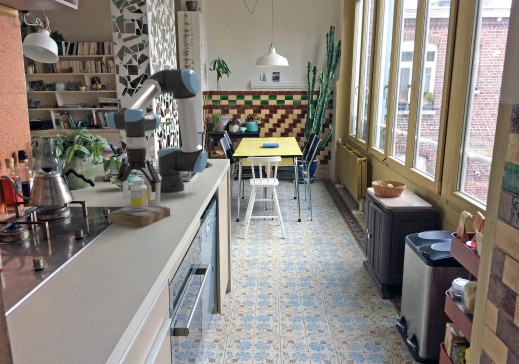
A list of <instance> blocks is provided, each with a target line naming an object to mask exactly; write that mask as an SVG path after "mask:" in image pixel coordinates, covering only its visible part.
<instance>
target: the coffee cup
mask: <svg viewBox="0 0 519 364" xmlns="http://www.w3.org/2000/svg"><path fill="white" fill-rule="evenodd" d="M157 175H158V177H159V180H160V182H159V183H156V192H155V199H153V200H150V199H149V184H150V182H149V181H148V180H147V178H146V177H145V175H144V174H143V173H142V175H141V177H140V179H144V185H146V186H147V198H148V205H155V206H161V192H160V186H161V179H162V178H161V176H160V174H159V173H157Z"/></svg>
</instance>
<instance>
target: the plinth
mask: <svg viewBox="0 0 519 364" xmlns="http://www.w3.org/2000/svg"><path fill="white" fill-rule="evenodd" d="M170 216H171V207H167V206H163V205H160V206H155V205H148V209H147V210H144V211H134V210H132V205H131V204H130V205H127V206H125V207H122V208H121V207H120V208H119V209H116V210H113V211H111V212H107V221H108V220H110V221H114V222H116V223H115V224H118V225H119V224H120V225H127V226H131V227H132V226H133V227H139V228H145V227H147V226H150V225H152V224H154V223H156V222H159V221H162V220H164V219H166V218H169V217H170Z"/></svg>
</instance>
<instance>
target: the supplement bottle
mask: <svg viewBox="0 0 519 364" xmlns="http://www.w3.org/2000/svg"><path fill="white" fill-rule="evenodd" d="M131 181H132V182H131V183H132V185H131V186H130V191H129V192H130V199H131V200H130V201H131V202H130V203H131V204H130V205H132V210H134V211H144V210H147V209H148V198H147V186H146V185H144V179H141V178H133V179H132V180H131Z"/></svg>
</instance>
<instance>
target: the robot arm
mask: <svg viewBox="0 0 519 364" xmlns="http://www.w3.org/2000/svg"><path fill="white" fill-rule="evenodd" d="M199 91H200V80H199V77H198V74H197V72H195V70H192V69H187V68H176V69H174V68H173V69H167V68H166V69H162V70H161V69H160V70H158V71H156V72H155V73H153V74H151V75H150V76H148V77H147V78H146V79H145V80H144V81H143V83H142V86H141V87H140V88H139V89H138V91H137V92H136V93H134V95H132V96H131V98H130V99H129V100H128V101H126V103H124V105H122V107H121V108H120V109H119V110H118V111H112V112H108V113H107V114H106V115H107V116H106V118H105V122H106V125H107V128H108V129H110V130H115V131H116V130H117V131H125V140H126V147H127V148H126V156H127V157H122V158H121V165H120V167H119V170H118V172H117V175H116V179H117V180H118V181H120V183H121V184H120V185H121V189H122V197H123V198H125V197H129V196H130V194H129V193H130V191H129V180H128V178H129V176H130V175H131V173H132V172H133V171H140V172H141V173H142V175H143V174H144V175H145V177H146V178H147V180H148V181H149V182H150V184H149V199H150V200H153V199H155V192H156V183H159V182H160V180H159V177H158V175H157V174H160V176H161V178H162V179H161V186H160V193H177V192H182V191H185V184H184V181H183V177H182V175H181V174H182V173H183V172H184V173H185V172H186V173H194V174H195V173H202V172H203V171H204V170H205V169H206V167H207V165H208V153H207V151H206V150H203V146H202V145H201V144H200V143H199V134H198V127H197V126H198V124H197V117H196V111H195V109H196V108H195V101H194V99H195V98H196V97H197V93H199ZM163 94H172V99H174V100H175V102H176V106H177V115H178V122H179V130H180V131H179V132H180V136H181V144H182V146H181V147H180V146H174V147H173V146H172V147H165V148H161V149H159V150H158V153H157V155H158V156H157V159H158V172H157V171H156V169H155V166H154V163H153V159H146V156H147V150H146V149H147V148H146V145H147V144H146V132H148V131H149V132H150V131H154V130H155V131H156V130H157V129H158V128H159V127H160V125H161V119H160V116H159V115H158V114H157V113H155V112H145V111H144V110H145V109H146V108H147V107H148V106H149V105H150V103H152V101H153V100H155V98H158V97H160V96H161V95H163ZM181 172H182V173H181Z"/></svg>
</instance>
